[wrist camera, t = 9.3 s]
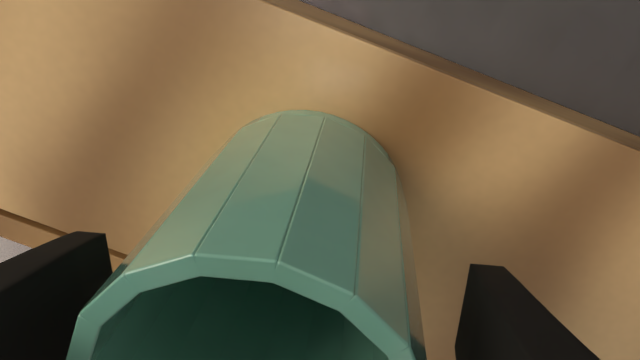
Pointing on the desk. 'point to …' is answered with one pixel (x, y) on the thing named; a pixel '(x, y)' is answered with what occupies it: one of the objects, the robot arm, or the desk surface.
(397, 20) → the desk surface
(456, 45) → the desk surface
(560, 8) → the desk surface
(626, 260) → the wooden block
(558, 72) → the desk surface
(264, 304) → the tub
